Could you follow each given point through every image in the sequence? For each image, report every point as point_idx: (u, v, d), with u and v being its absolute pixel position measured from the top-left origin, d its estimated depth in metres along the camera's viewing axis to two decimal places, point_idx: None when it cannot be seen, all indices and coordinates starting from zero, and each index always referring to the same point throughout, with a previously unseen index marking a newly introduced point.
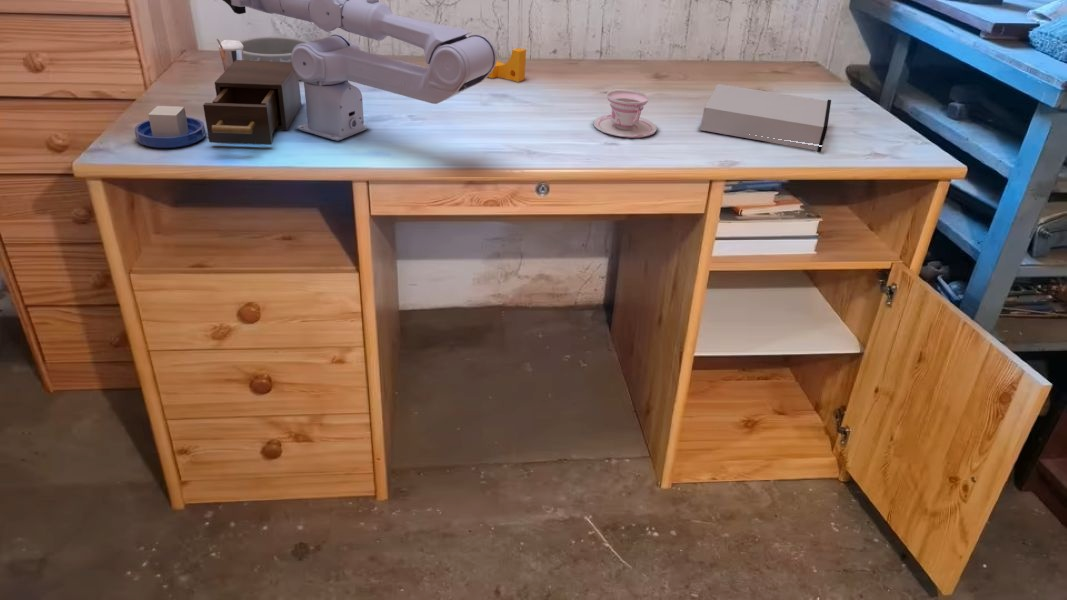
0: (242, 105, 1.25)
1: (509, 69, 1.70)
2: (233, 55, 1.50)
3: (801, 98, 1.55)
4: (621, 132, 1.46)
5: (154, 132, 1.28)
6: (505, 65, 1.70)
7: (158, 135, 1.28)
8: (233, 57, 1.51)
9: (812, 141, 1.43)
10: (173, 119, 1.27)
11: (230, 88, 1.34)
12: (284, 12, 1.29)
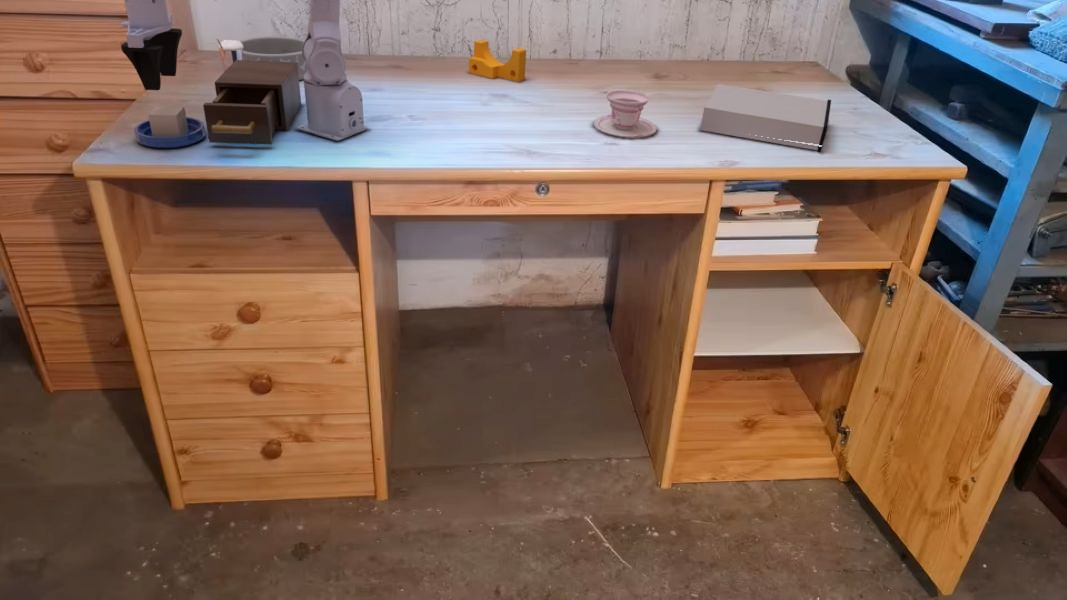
0: (242, 105, 1.25)
1: (509, 69, 1.70)
2: (233, 55, 1.50)
3: (801, 98, 1.55)
4: (621, 132, 1.46)
5: (154, 132, 1.28)
6: (505, 65, 1.70)
7: (158, 135, 1.28)
8: (233, 57, 1.51)
9: (812, 141, 1.43)
10: (173, 119, 1.27)
11: (230, 88, 1.34)
12: None
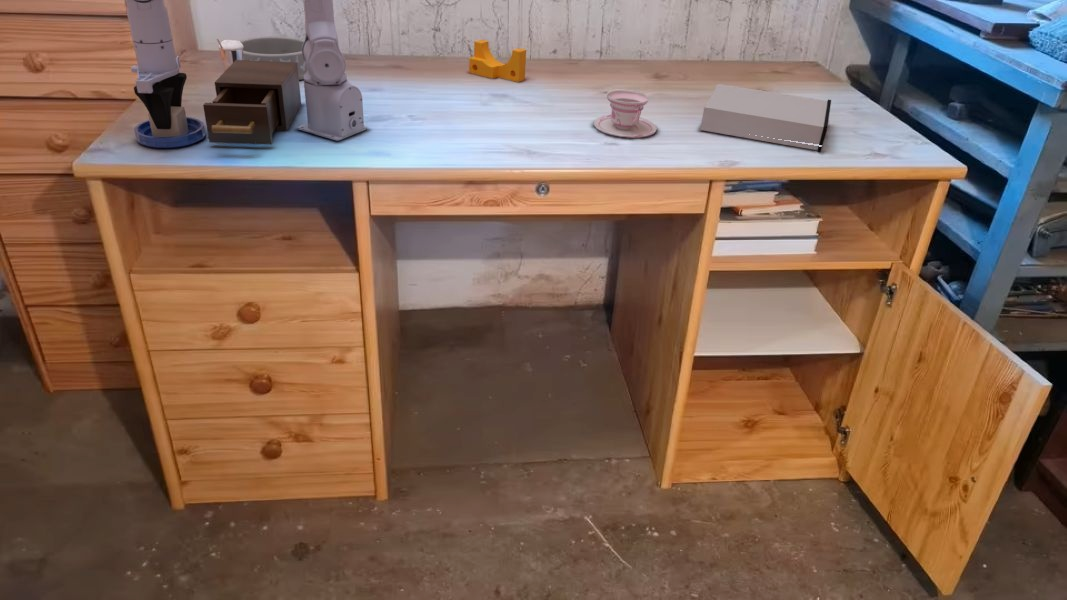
0: (242, 105, 1.25)
1: (509, 69, 1.70)
2: (233, 55, 1.50)
3: (801, 98, 1.55)
4: (621, 132, 1.46)
5: (154, 132, 1.28)
6: (505, 65, 1.70)
7: (158, 135, 1.28)
8: (233, 57, 1.51)
9: (812, 141, 1.43)
10: (173, 119, 1.27)
11: (230, 88, 1.34)
12: (163, 41, 1.21)
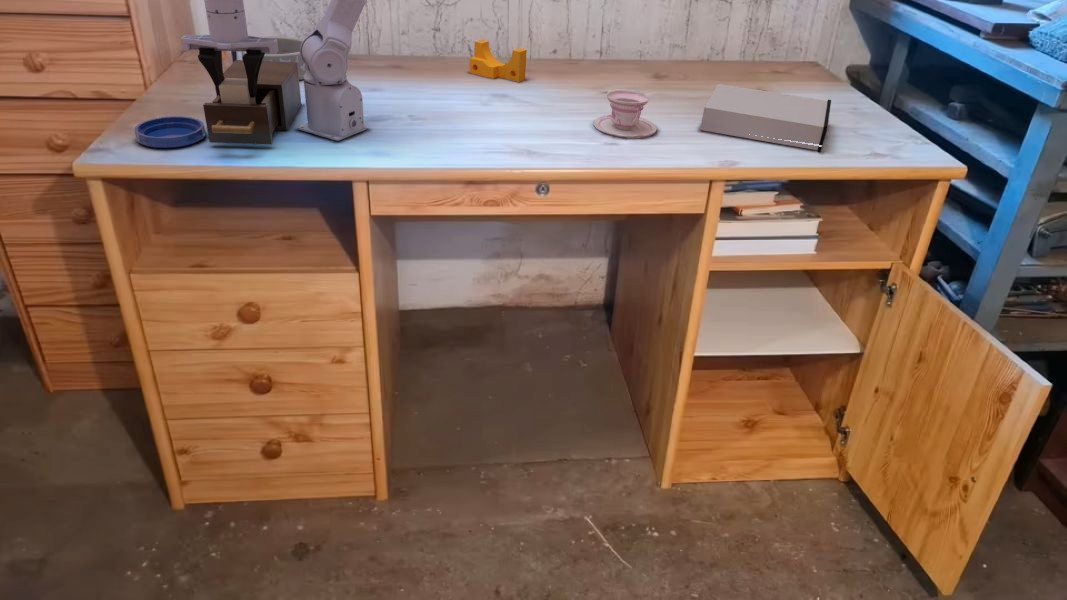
0: (242, 105, 1.25)
1: (509, 69, 1.70)
2: (233, 55, 1.50)
3: (801, 98, 1.55)
4: (621, 132, 1.46)
5: None
6: (505, 65, 1.70)
7: None
8: (233, 57, 1.51)
9: (812, 141, 1.43)
10: None
11: None
12: (238, 11, 1.21)
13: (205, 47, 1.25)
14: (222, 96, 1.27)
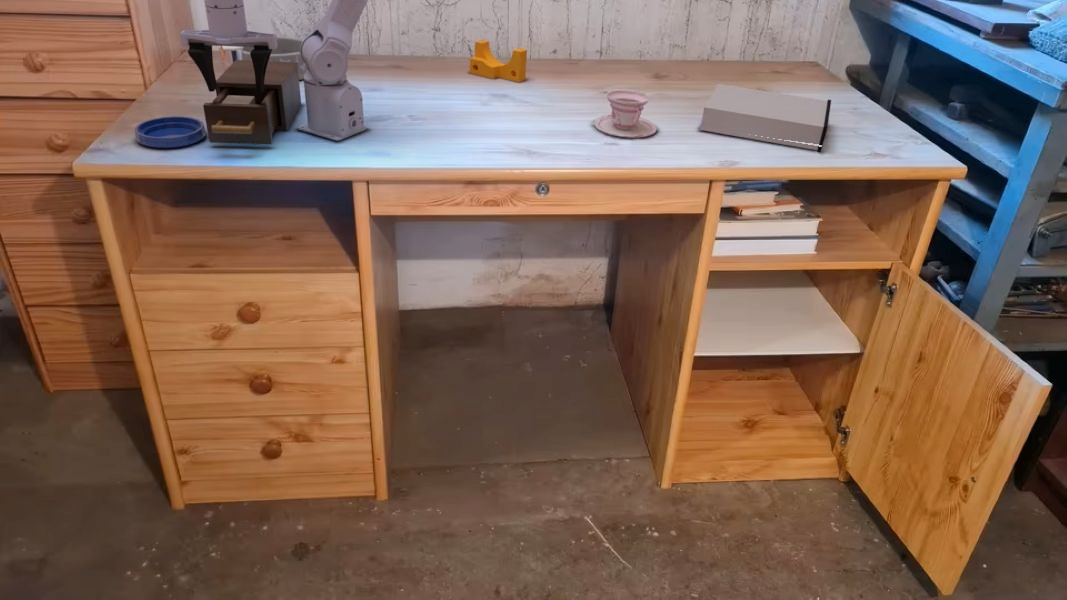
0: (242, 105, 1.25)
1: (510, 69, 1.70)
2: (233, 55, 1.50)
3: (801, 98, 1.55)
4: (621, 132, 1.46)
5: None
6: (506, 65, 1.70)
7: None
8: (233, 57, 1.51)
9: (812, 141, 1.43)
10: (254, 101, 1.32)
11: (230, 88, 1.34)
12: (237, 6, 1.21)
13: (204, 42, 1.25)
14: None
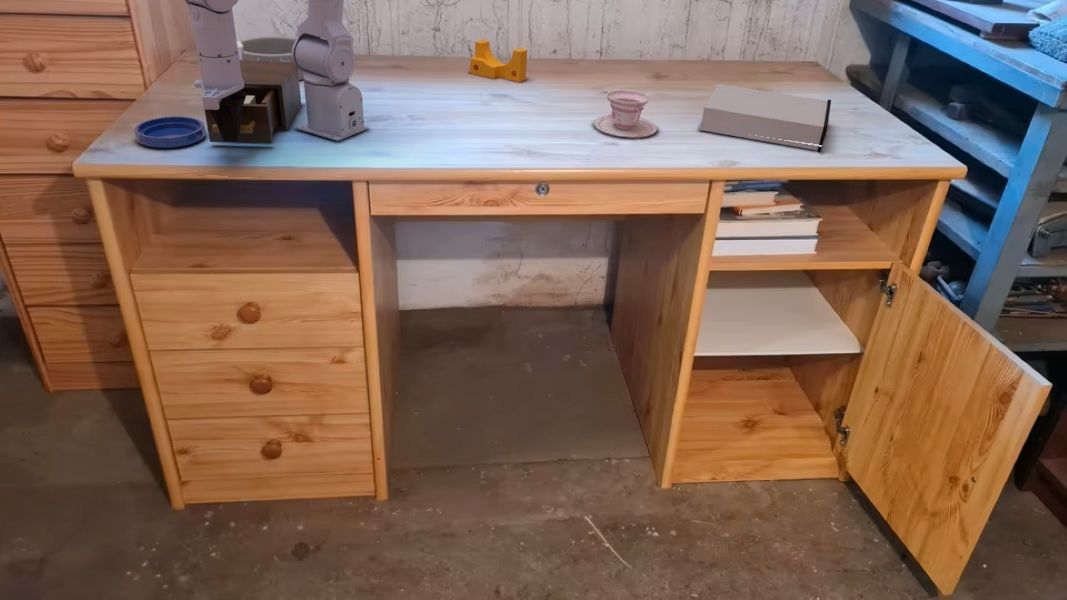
0: None
1: (510, 70, 1.70)
2: None
3: (801, 98, 1.55)
4: (621, 132, 1.46)
5: None
6: (506, 65, 1.70)
7: None
8: None
9: (812, 141, 1.43)
10: (254, 100, 1.32)
11: None
12: (237, 52, 1.16)
13: None
14: None
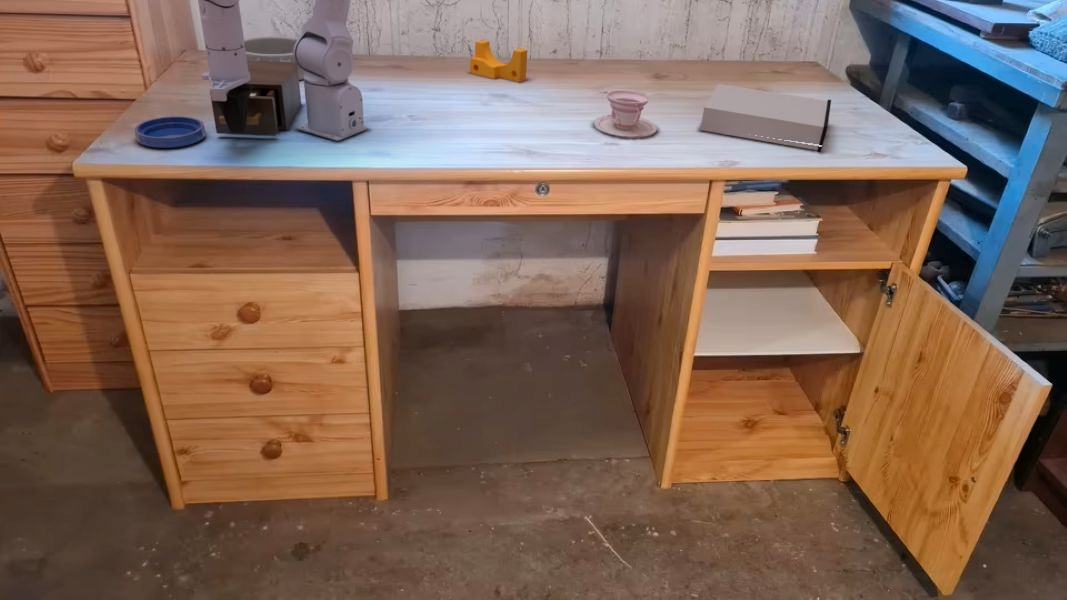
0: None
1: (510, 70, 1.70)
2: None
3: (801, 98, 1.55)
4: (621, 132, 1.46)
5: None
6: (506, 65, 1.70)
7: None
8: None
9: (812, 141, 1.43)
10: (260, 93, 1.36)
11: None
12: (242, 45, 1.19)
13: None
14: None
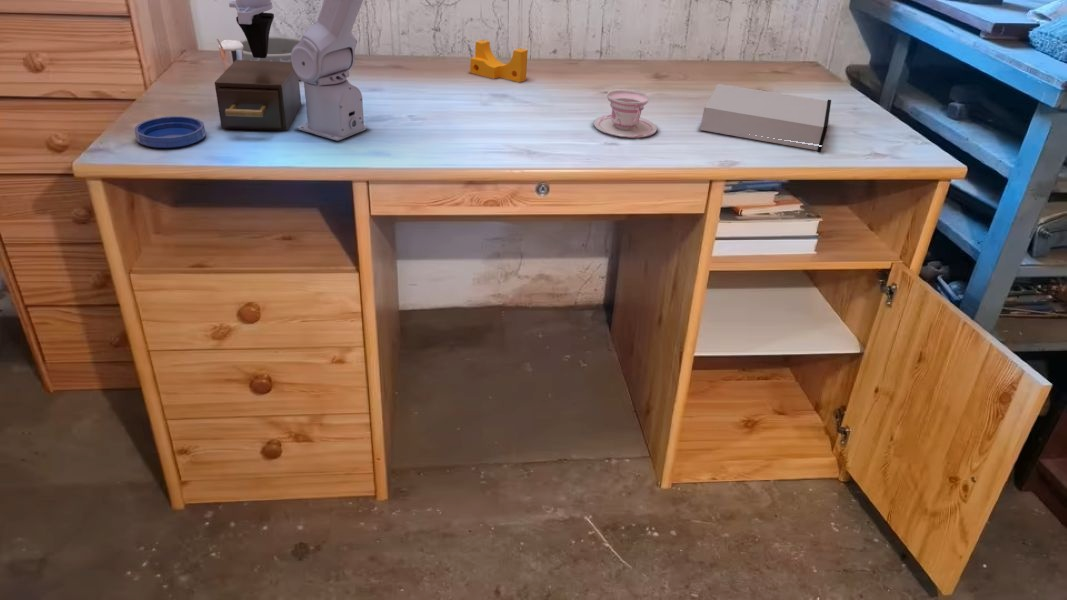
0: (254, 90, 1.32)
1: (510, 70, 1.70)
2: (233, 55, 1.50)
3: (801, 98, 1.55)
4: (622, 132, 1.46)
5: None
6: (506, 65, 1.70)
7: None
8: (233, 57, 1.51)
9: (812, 141, 1.43)
10: None
11: None
12: None
13: None
14: None
